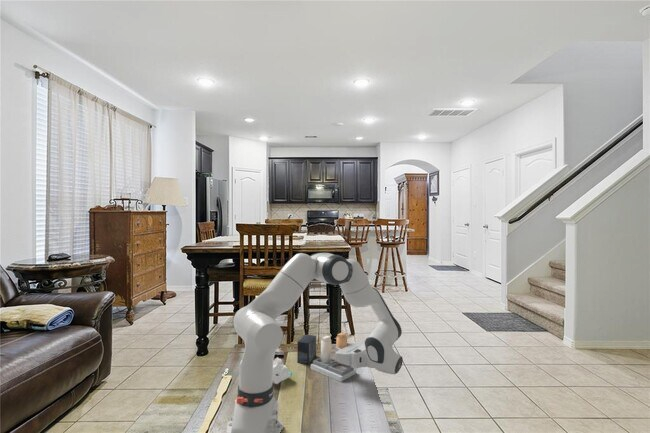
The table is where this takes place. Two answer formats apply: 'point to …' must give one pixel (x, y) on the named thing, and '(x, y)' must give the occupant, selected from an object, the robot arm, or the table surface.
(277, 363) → the partial skull model
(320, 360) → the grey base with column
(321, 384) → the table surface
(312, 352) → the small box
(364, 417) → the table surface
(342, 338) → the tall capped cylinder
